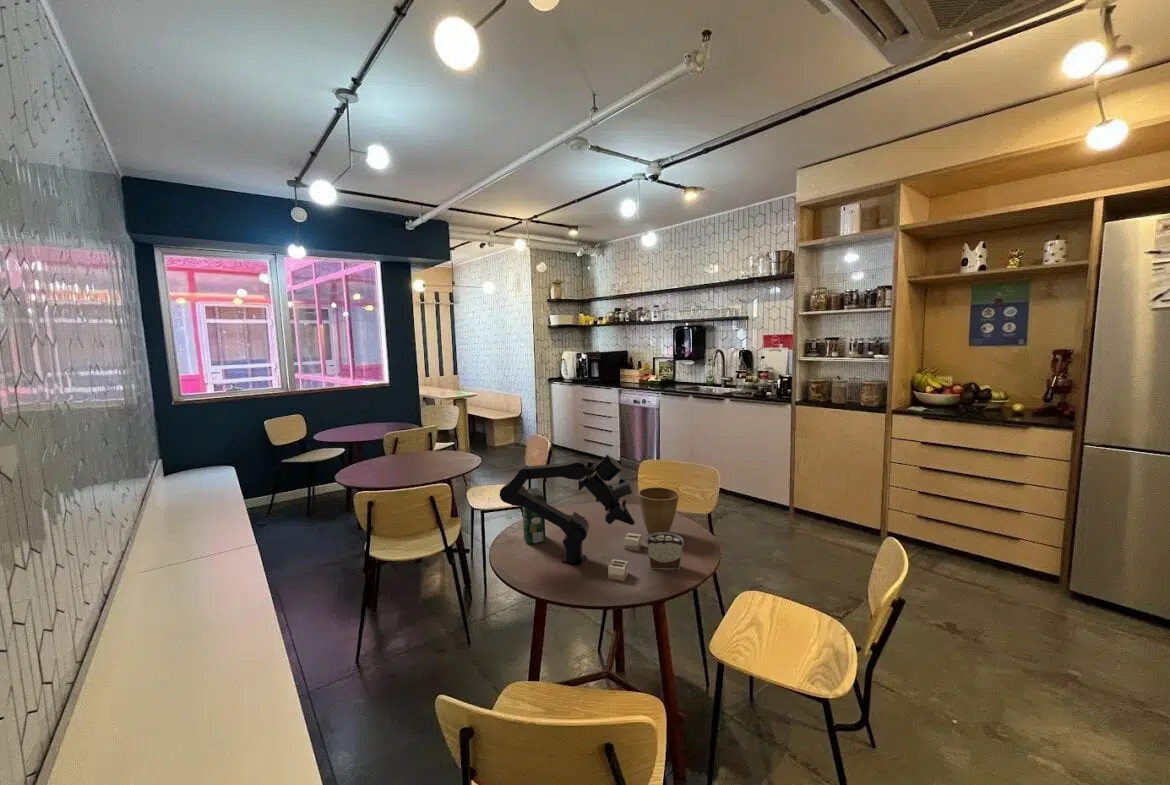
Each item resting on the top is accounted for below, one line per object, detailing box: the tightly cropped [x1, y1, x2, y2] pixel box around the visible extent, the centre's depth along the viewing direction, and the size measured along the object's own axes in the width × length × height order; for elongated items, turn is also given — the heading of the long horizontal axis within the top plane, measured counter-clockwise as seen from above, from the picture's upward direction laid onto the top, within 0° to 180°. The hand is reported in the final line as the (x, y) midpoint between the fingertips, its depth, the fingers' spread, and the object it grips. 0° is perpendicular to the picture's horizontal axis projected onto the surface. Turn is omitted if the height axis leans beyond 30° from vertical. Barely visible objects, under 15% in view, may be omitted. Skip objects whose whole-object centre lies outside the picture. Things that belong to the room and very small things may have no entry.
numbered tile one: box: [623, 532, 642, 552], centre depth 167 cm, size 5×5×4 cm
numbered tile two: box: [607, 559, 629, 582], centre depth 147 cm, size 5×5×4 cm
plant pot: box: [638, 486, 680, 536], centre depth 177 cm, size 15×15×16 cm
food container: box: [645, 532, 686, 571], centre depth 153 cm, size 12×6×10 cm, turn 85°
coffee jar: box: [522, 487, 546, 545], centre depth 173 cm, size 10×8×19 cm
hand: (633, 523), depth 153 cm, fingers closed
